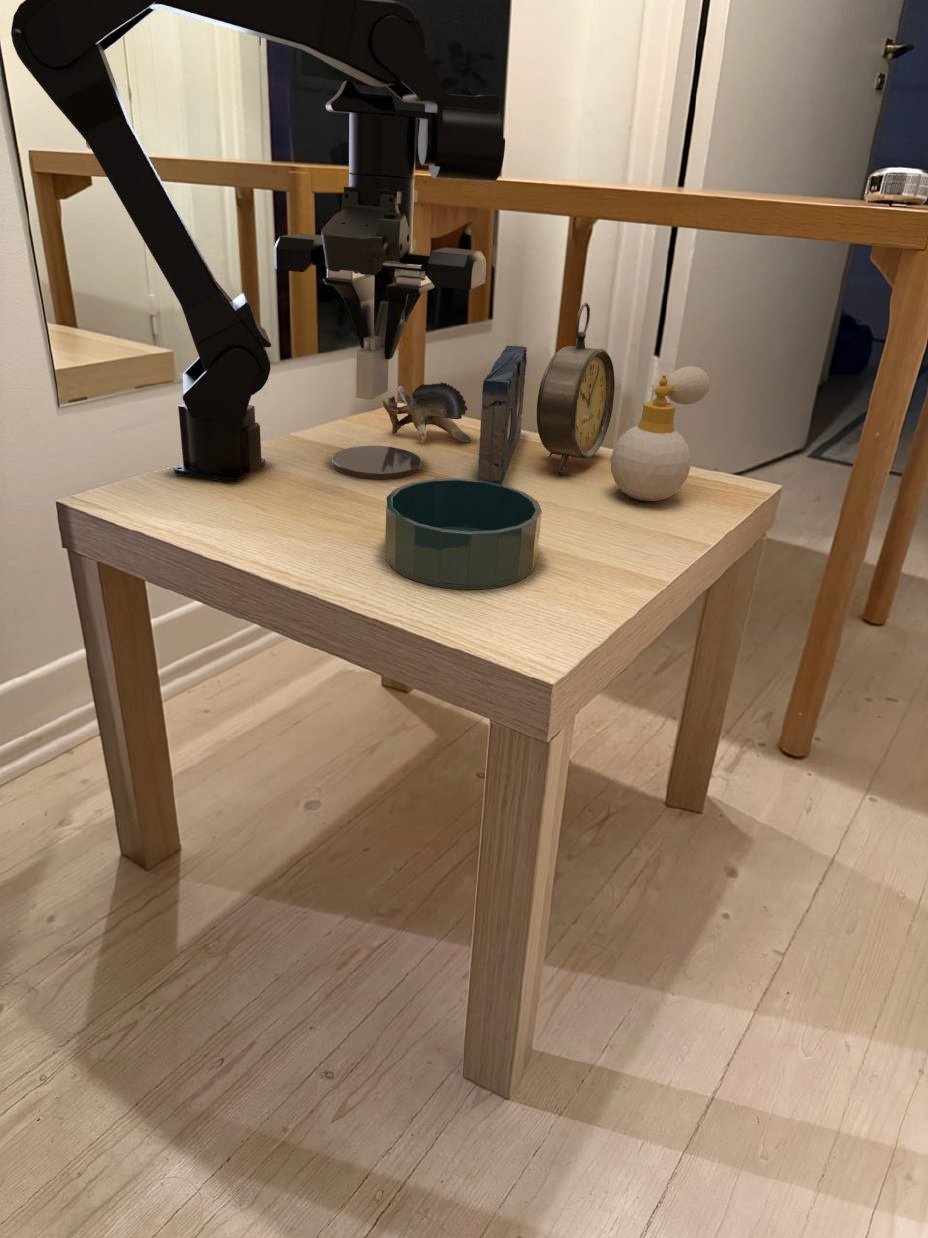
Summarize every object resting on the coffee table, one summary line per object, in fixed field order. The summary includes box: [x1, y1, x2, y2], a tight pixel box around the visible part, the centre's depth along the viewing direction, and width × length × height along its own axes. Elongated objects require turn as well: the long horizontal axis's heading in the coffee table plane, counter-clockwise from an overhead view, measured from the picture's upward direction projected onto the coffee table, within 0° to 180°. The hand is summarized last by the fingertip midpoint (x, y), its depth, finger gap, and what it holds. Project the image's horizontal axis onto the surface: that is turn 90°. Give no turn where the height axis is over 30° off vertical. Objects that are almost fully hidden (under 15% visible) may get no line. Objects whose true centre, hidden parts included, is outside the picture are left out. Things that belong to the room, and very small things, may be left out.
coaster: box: [331, 445, 422, 480], centre depth 92 cm, size 9×9×1 cm
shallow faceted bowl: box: [384, 477, 543, 590], centre depth 71 cm, size 12×12×4 cm
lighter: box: [354, 300, 389, 401], centre depth 86 cm, size 7×2×8 cm, turn 162°
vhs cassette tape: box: [477, 345, 528, 484], centre depth 94 cm, size 18×3×10 cm, turn 169°
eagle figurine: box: [382, 382, 473, 445], centre depth 100 cm, size 8×7×9 cm
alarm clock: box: [536, 302, 616, 476], centre depth 92 cm, size 11×5×16 cm, turn 151°
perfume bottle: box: [610, 365, 710, 502], centre depth 86 cm, size 8×10×12 cm
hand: (378, 357), depth 87 cm, fingers closed on lighter, 2 cm apart
